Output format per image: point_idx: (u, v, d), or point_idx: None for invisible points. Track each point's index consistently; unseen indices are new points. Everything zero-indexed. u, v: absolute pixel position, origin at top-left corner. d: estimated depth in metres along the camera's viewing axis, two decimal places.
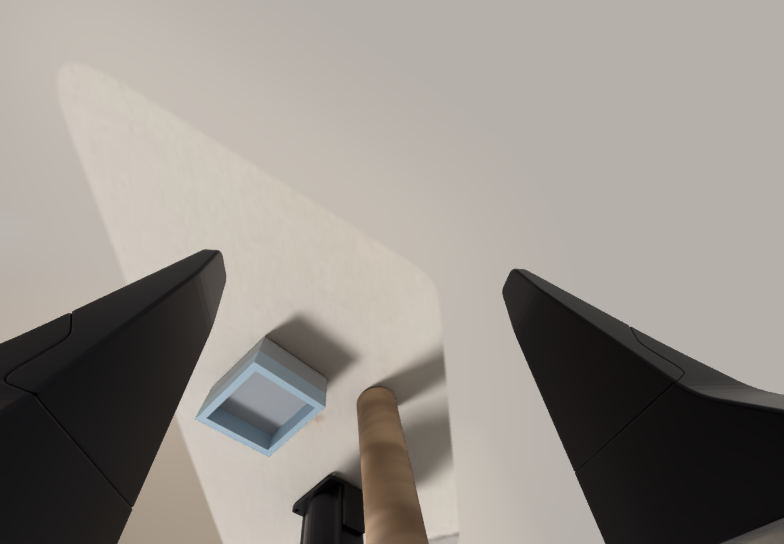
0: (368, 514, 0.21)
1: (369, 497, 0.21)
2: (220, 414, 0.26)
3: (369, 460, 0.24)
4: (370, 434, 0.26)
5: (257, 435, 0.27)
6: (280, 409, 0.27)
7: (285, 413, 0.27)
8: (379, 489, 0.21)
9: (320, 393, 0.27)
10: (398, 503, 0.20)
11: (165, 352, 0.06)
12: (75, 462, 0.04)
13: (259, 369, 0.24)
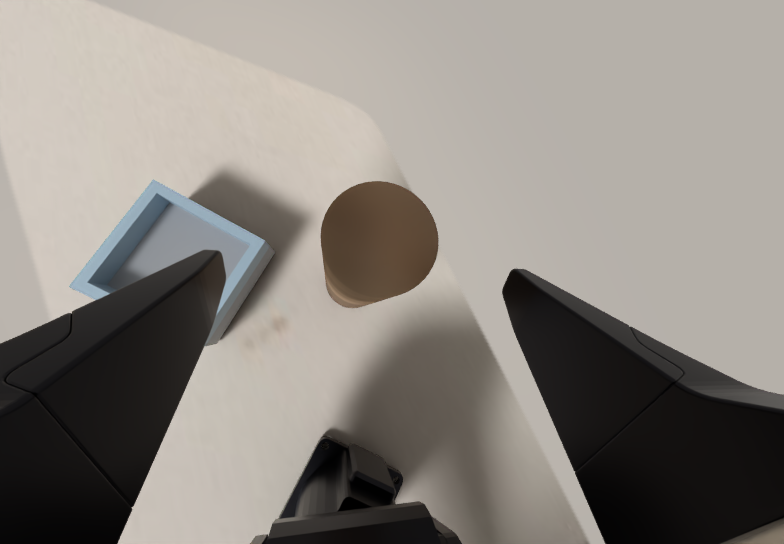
0: None
1: None
2: None
3: None
4: None
5: None
6: None
7: None
8: None
9: None
10: None
11: (165, 352, 0.06)
12: (75, 463, 0.04)
13: (161, 190, 0.18)
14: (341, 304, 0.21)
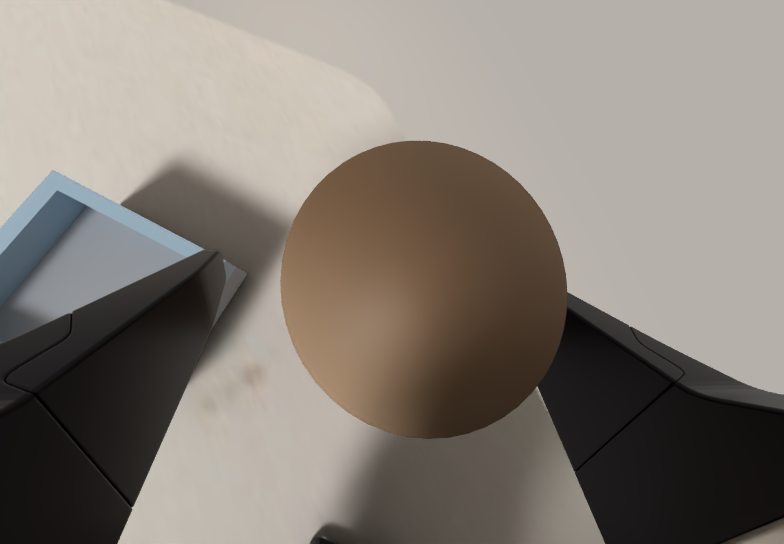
0: None
1: None
2: None
3: None
4: None
5: None
6: None
7: None
8: None
9: None
10: None
11: (165, 352, 0.06)
12: (75, 462, 0.04)
13: (65, 185, 0.12)
14: None
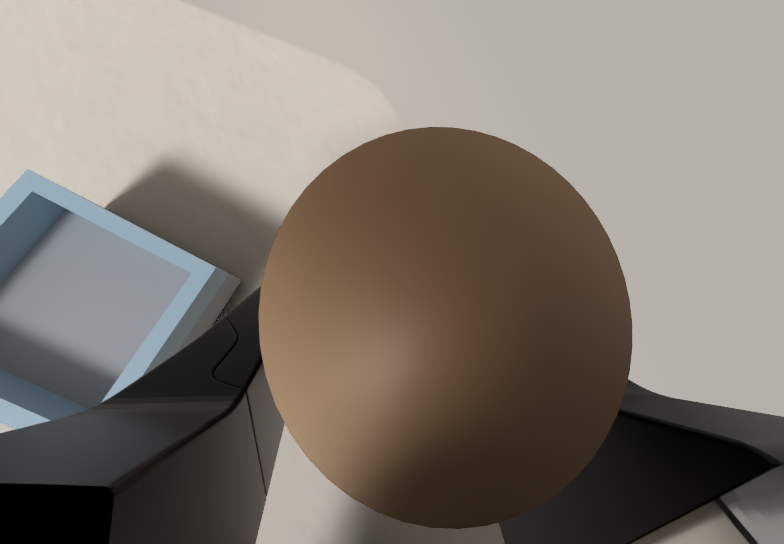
0: None
1: None
2: None
3: None
4: None
5: (60, 408, 0.11)
6: (127, 333, 0.12)
7: (141, 342, 0.12)
8: None
9: None
10: None
11: None
12: (252, 453, 0.05)
13: (41, 186, 0.11)
14: None
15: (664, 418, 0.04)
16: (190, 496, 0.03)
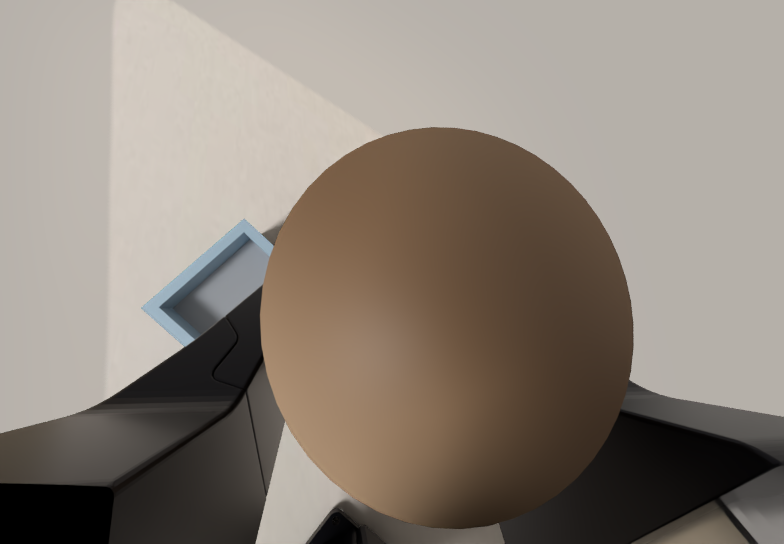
0: None
1: None
2: (179, 318, 0.18)
3: None
4: None
5: None
6: None
7: None
8: None
9: None
10: None
11: None
12: (253, 453, 0.05)
13: (249, 230, 0.18)
14: None
15: (664, 418, 0.04)
16: (191, 496, 0.03)
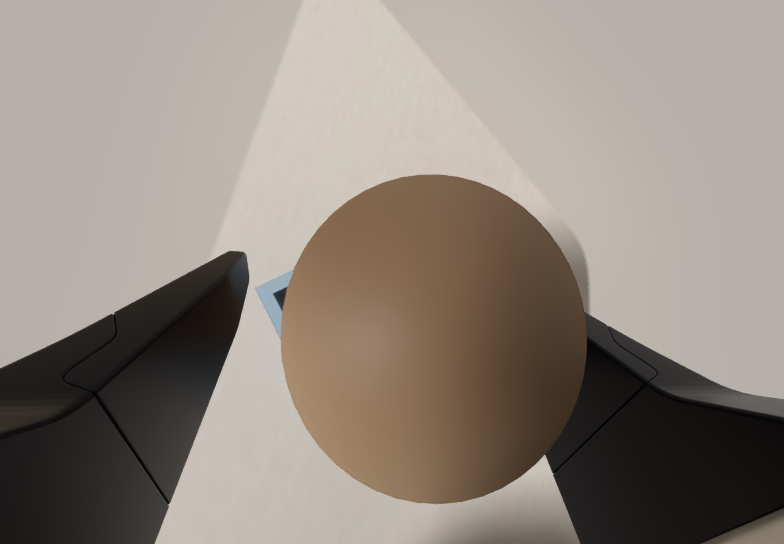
0: None
1: None
2: None
3: None
4: None
5: None
6: None
7: None
8: None
9: None
10: None
11: (199, 352, 0.06)
12: (124, 460, 0.05)
13: None
14: None
15: (772, 413, 0.04)
16: None
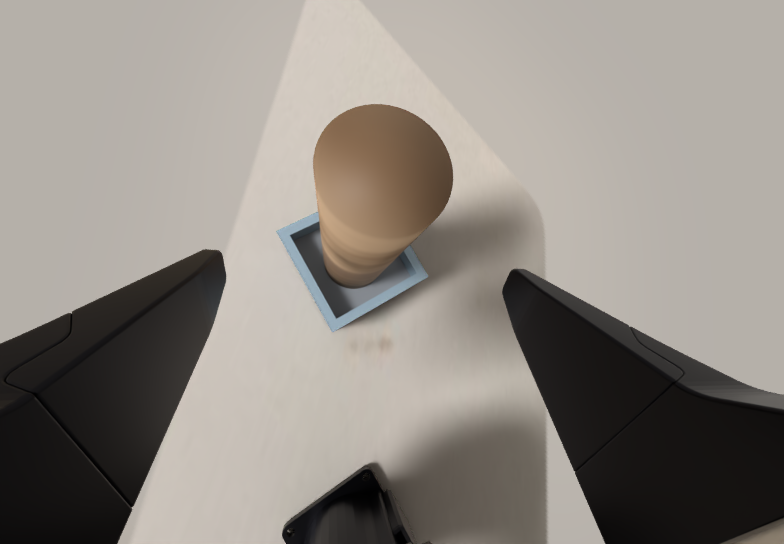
0: None
1: None
2: None
3: None
4: None
5: None
6: None
7: (366, 289, 0.21)
8: None
9: None
10: None
11: (165, 352, 0.06)
12: (75, 462, 0.04)
13: None
14: (341, 283, 0.19)
15: None
16: None
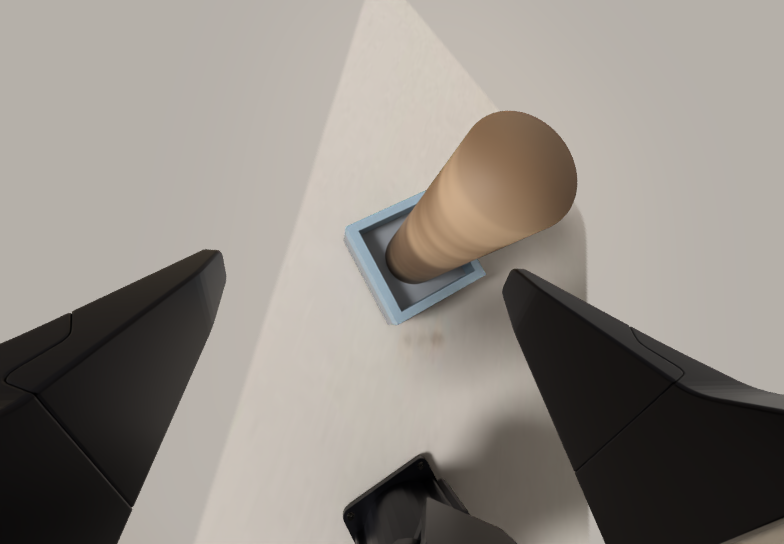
0: (436, 184, 0.11)
1: (430, 187, 0.12)
2: None
3: None
4: None
5: None
6: None
7: (425, 285, 0.22)
8: None
9: None
10: None
11: (165, 352, 0.06)
12: (75, 462, 0.04)
13: None
14: (405, 278, 0.20)
15: None
16: None
